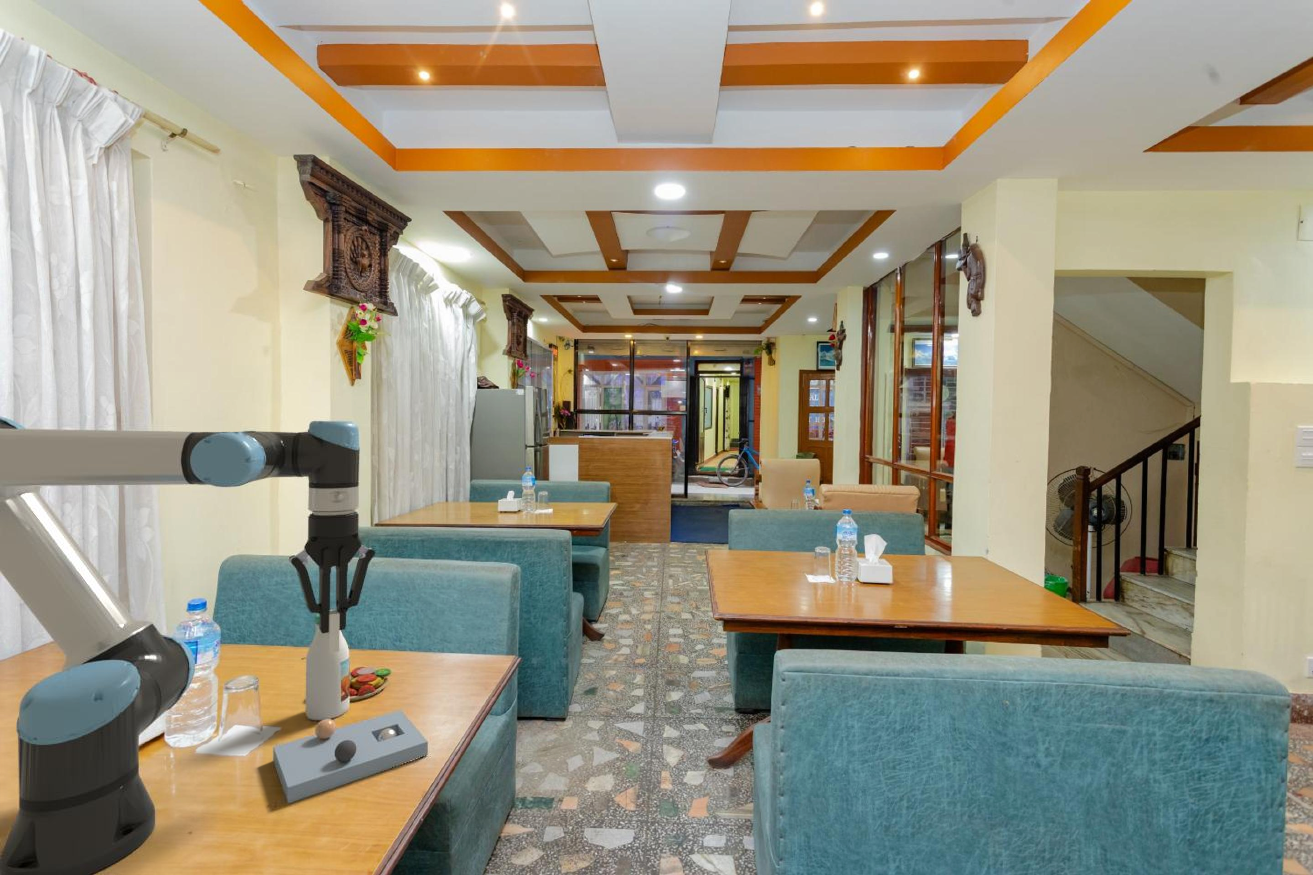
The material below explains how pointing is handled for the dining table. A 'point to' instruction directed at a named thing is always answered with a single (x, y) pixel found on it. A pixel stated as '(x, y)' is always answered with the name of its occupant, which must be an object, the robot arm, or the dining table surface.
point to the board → (317, 770)
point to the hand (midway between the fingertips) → (332, 649)
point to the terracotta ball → (325, 728)
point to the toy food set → (367, 682)
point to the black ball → (345, 751)
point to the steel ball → (387, 734)
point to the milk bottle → (327, 678)
